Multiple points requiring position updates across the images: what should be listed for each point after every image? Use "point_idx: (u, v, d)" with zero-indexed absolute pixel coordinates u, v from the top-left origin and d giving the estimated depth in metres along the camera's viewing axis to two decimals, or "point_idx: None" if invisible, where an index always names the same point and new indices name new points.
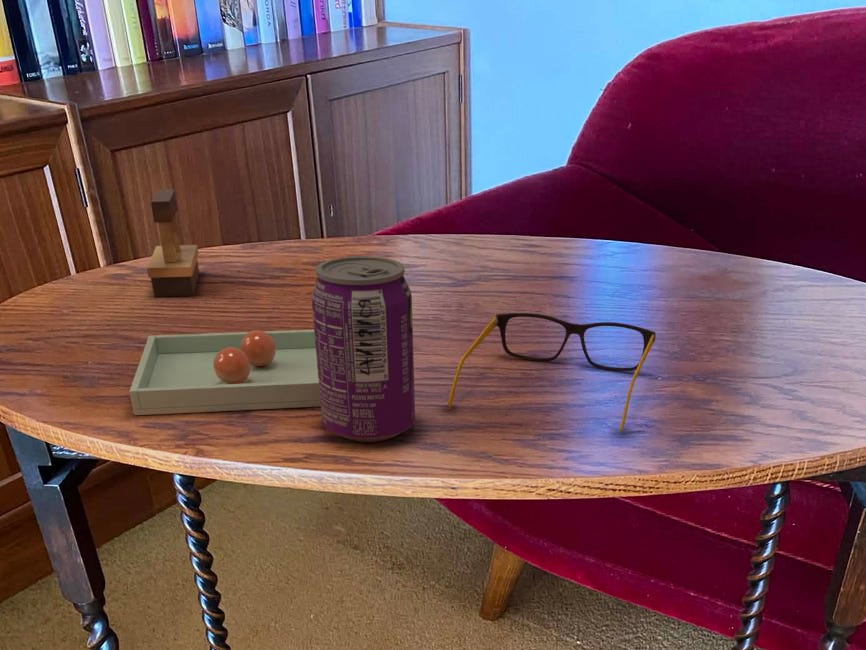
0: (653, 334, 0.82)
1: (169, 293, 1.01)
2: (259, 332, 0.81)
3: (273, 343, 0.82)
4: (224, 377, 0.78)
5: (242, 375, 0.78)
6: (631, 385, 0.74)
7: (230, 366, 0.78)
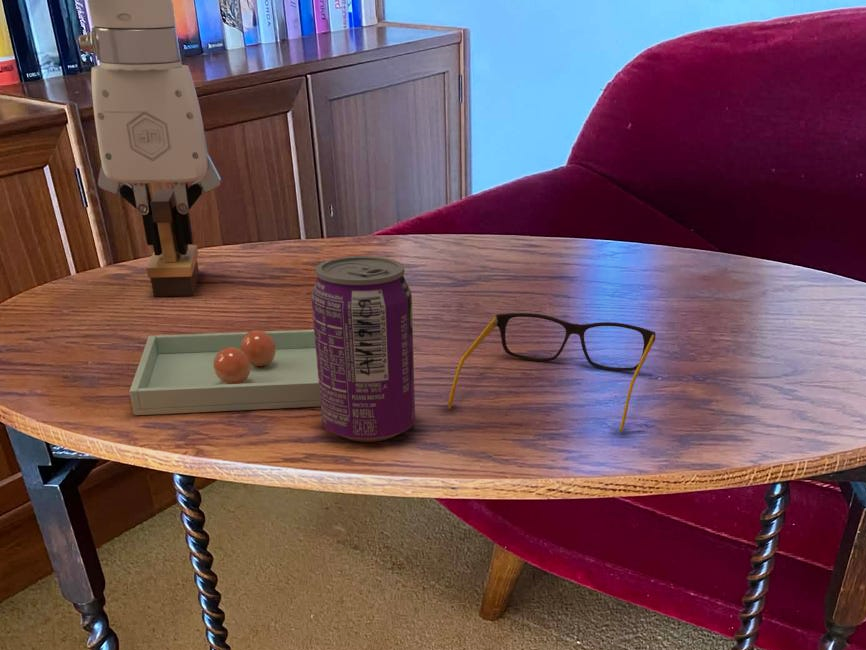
0: (653, 334, 0.82)
1: (169, 293, 1.00)
2: (259, 332, 0.81)
3: (273, 343, 0.82)
4: (224, 377, 0.78)
5: (242, 375, 0.78)
6: (631, 385, 0.74)
7: (230, 366, 0.78)
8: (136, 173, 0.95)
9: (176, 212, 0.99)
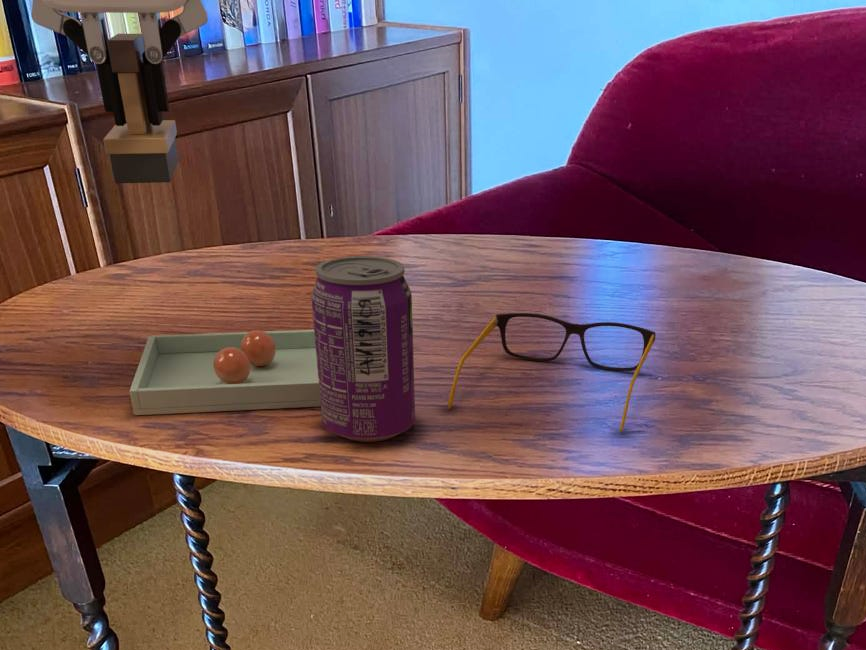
0: (653, 334, 0.82)
1: (136, 178, 0.72)
2: (259, 332, 0.81)
3: (273, 343, 0.82)
4: (224, 377, 0.78)
5: (242, 375, 0.78)
6: (631, 385, 0.74)
7: (230, 366, 0.78)
8: None
9: (145, 62, 0.70)
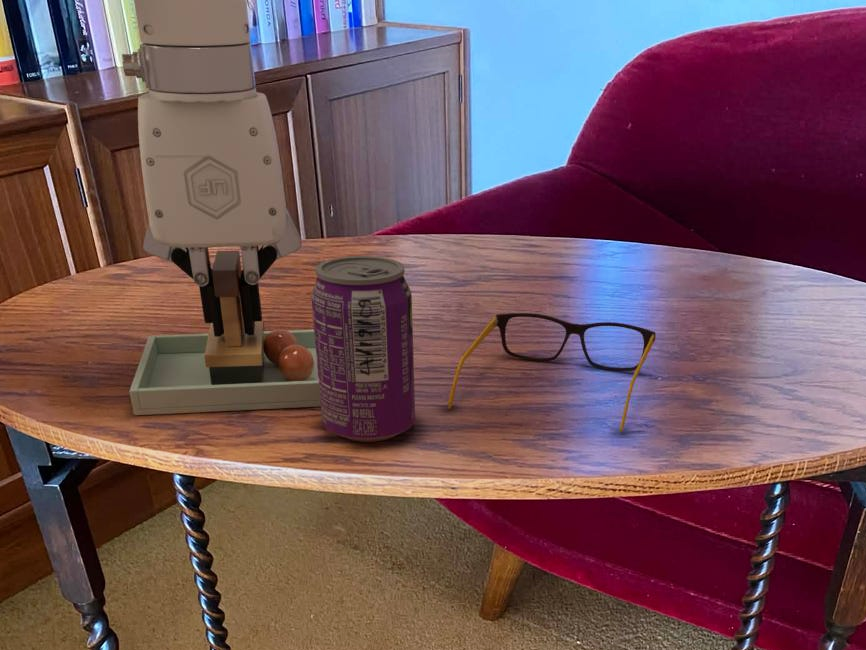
0: (653, 334, 0.82)
1: None
2: None
3: None
4: (304, 365, 0.79)
5: (287, 360, 0.78)
6: (631, 385, 0.74)
7: (294, 374, 0.79)
8: (194, 235, 0.72)
9: (243, 282, 0.76)
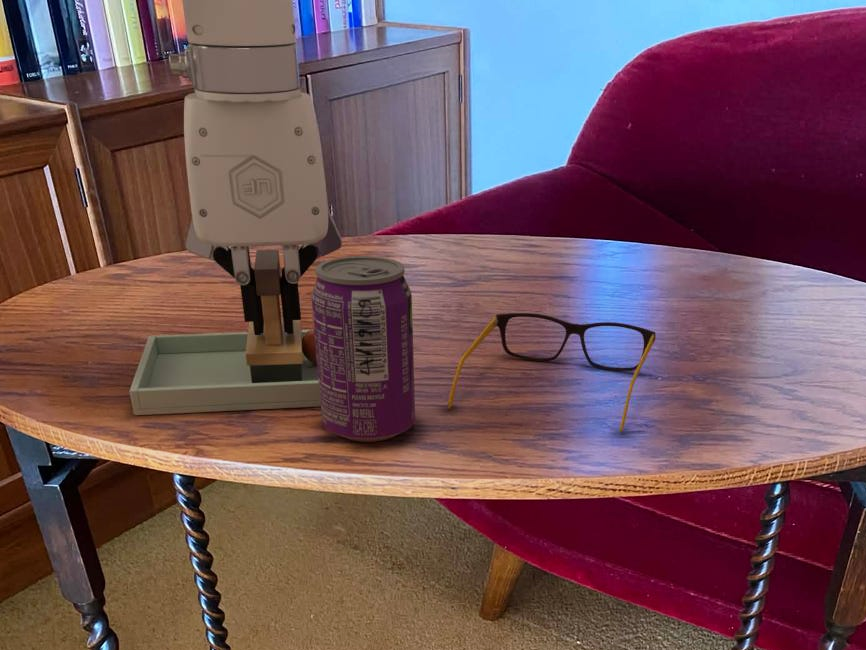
0: (653, 334, 0.82)
1: None
2: (312, 362, 0.84)
3: (302, 349, 0.83)
4: None
5: None
6: (631, 385, 0.74)
7: None
8: (238, 234, 0.72)
9: (284, 281, 0.77)
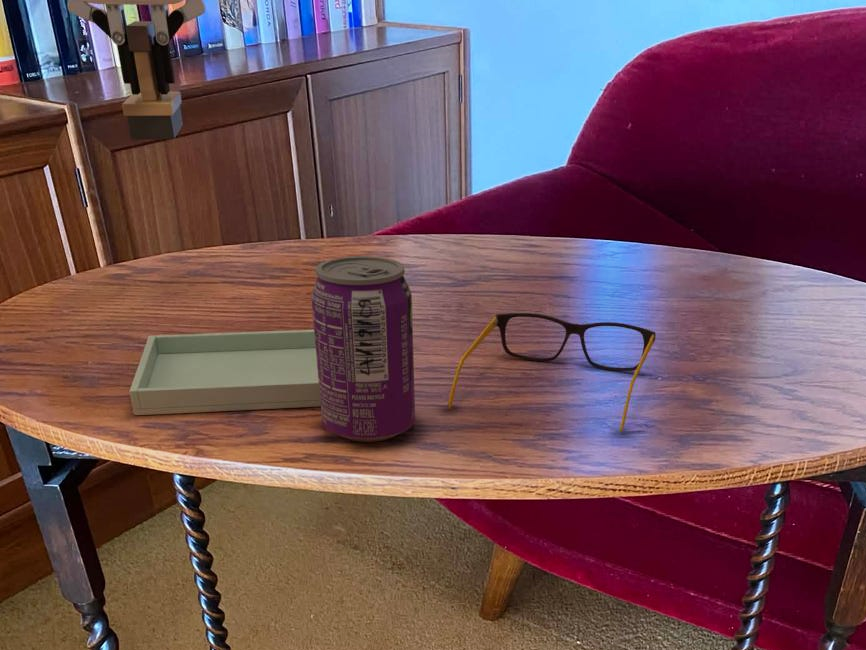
0: (653, 334, 0.82)
1: (147, 135, 0.91)
2: None
3: None
4: None
5: None
6: (631, 385, 0.74)
7: None
8: None
9: (155, 43, 0.89)
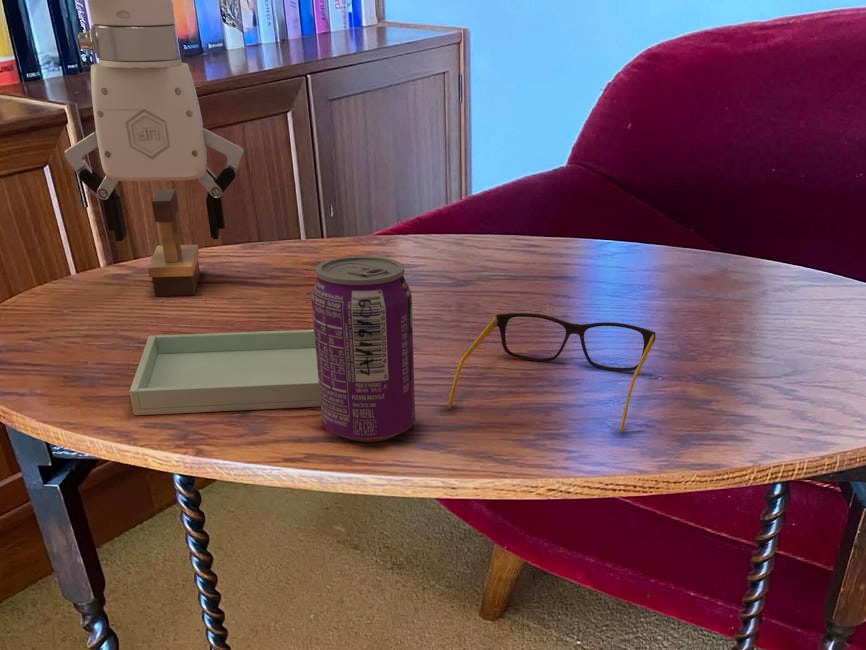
0: (653, 334, 0.82)
1: (170, 293, 1.01)
2: None
3: None
4: None
5: None
6: (631, 385, 0.74)
7: None
8: (135, 171, 0.95)
9: (209, 196, 0.99)
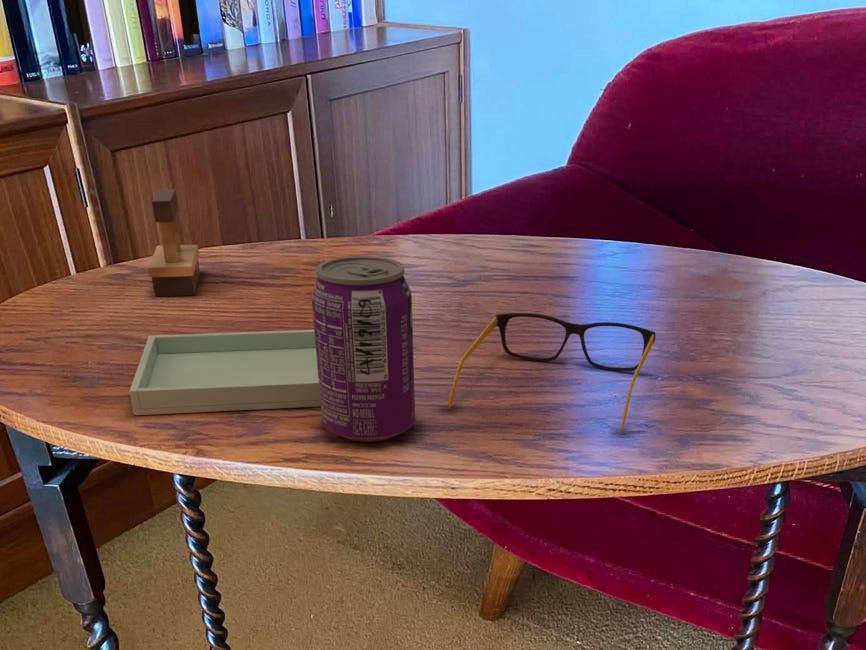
0: (653, 334, 0.82)
1: (170, 293, 1.01)
2: None
3: None
4: None
5: None
6: (631, 385, 0.74)
7: None
8: None
9: None
